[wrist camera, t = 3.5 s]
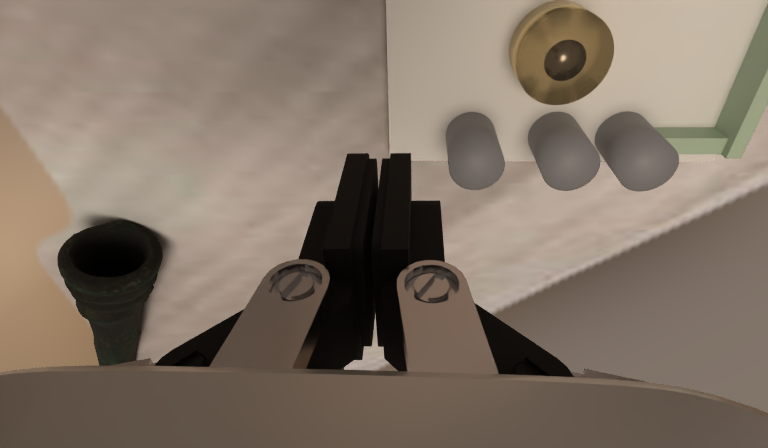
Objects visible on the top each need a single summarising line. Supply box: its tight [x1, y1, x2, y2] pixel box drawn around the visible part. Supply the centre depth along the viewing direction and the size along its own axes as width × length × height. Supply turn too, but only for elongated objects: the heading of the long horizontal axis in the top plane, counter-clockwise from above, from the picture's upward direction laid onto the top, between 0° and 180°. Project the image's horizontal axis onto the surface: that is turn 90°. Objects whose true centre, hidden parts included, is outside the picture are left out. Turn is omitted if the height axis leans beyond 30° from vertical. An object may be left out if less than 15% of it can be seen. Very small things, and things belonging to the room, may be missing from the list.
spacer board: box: [386, 0, 768, 191], centre depth 23 cm, size 14×20×5 cm
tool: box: [58, 221, 163, 366], centre depth 40 cm, size 28×6×7 cm, turn 154°
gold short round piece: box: [509, 0, 614, 105], centre depth 23 cm, size 5×5×3 cm
